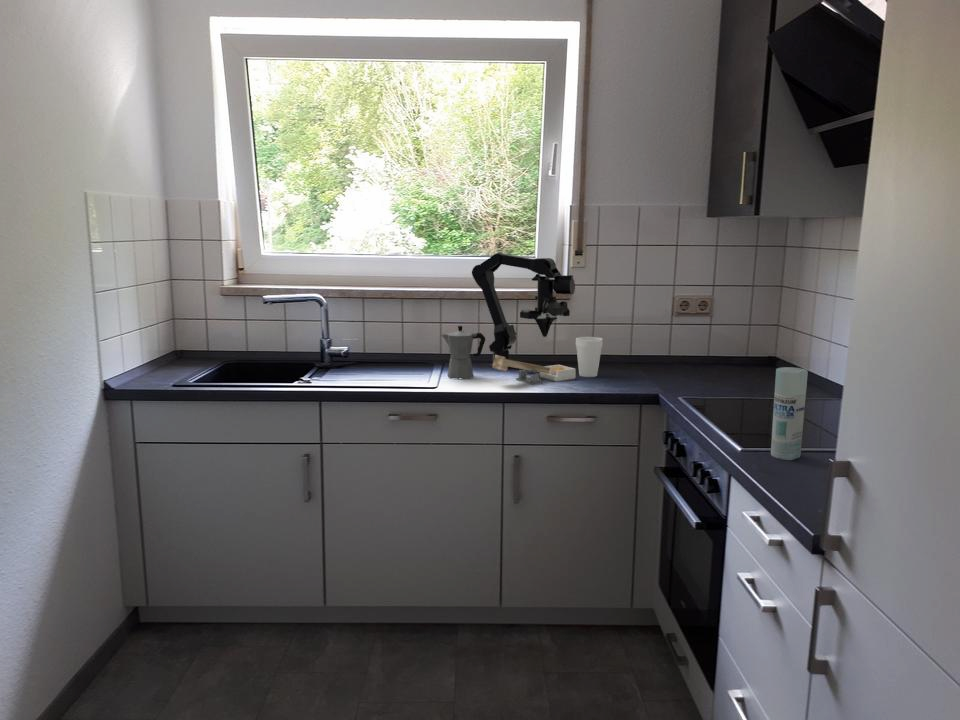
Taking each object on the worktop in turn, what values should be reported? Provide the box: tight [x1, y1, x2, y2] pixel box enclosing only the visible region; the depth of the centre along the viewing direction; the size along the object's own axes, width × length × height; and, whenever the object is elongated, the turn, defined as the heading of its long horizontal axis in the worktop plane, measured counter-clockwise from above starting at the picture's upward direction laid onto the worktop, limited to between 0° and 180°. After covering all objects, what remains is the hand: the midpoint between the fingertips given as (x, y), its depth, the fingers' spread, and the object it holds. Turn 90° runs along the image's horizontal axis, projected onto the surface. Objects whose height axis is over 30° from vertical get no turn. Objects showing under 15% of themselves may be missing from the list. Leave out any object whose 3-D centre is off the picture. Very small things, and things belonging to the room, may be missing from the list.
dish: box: [539, 364, 577, 382], centre depth 252 cm, size 9×9×4 cm
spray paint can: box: [770, 366, 809, 461], centre depth 163 cm, size 6×6×20 cm
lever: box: [491, 355, 550, 374], centre depth 248 cm, size 17×24×4 cm
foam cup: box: [575, 336, 604, 378], centre depth 255 cm, size 10×9×13 cm
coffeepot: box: [441, 325, 486, 380], centre depth 252 cm, size 15×9×18 cm, turn 82°
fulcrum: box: [515, 369, 543, 385], centre depth 246 cm, size 9×4×3 cm, turn 33°
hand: (544, 336), depth 262 cm, fingers closed
